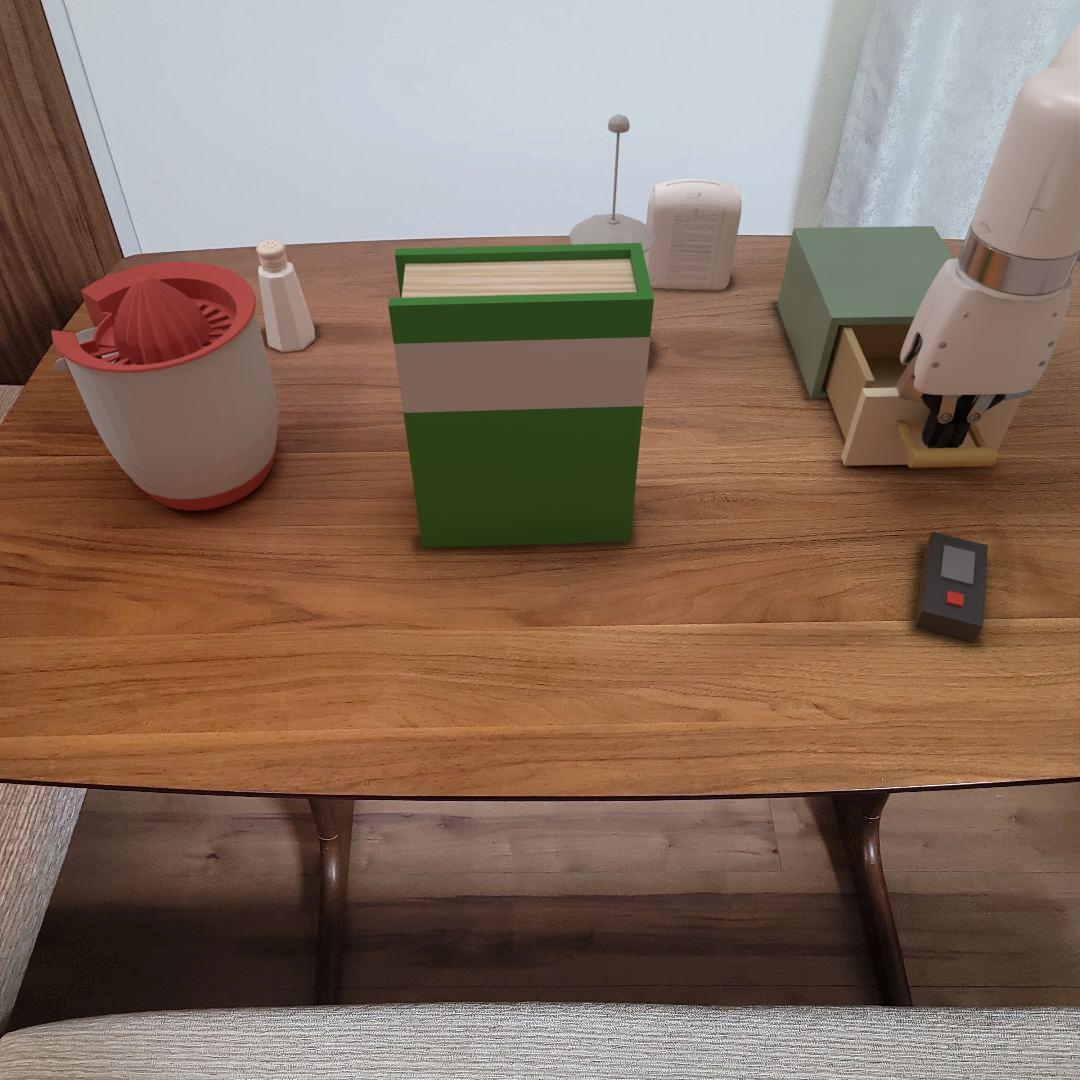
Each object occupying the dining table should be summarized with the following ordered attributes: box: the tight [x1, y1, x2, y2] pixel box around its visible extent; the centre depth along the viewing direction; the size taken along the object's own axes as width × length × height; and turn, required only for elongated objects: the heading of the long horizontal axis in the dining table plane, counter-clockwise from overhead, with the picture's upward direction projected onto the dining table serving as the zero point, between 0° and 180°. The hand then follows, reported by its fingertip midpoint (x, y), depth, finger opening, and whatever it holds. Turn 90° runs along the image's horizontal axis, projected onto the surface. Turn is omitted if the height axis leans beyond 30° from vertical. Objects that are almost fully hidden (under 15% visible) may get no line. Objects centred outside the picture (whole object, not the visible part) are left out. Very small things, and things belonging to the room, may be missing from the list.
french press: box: [568, 113, 655, 253], centre depth 88 cm, size 10×12×25 cm
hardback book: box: [387, 243, 655, 549], centre depth 73 cm, size 18×7×24 cm, turn 92°
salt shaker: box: [255, 239, 316, 353], centre depth 96 cm, size 5×5×11 cm
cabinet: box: [776, 225, 955, 399], centre depth 95 cm, size 17×15×10 cm
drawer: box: [823, 324, 1023, 468], centre depth 85 cm, size 21×14×8 cm, turn 1°
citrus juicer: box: [51, 261, 279, 512], centre depth 79 cm, size 16×17×20 cm
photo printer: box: [644, 177, 742, 291], centre depth 103 cm, size 10×4×12 cm, turn 86°
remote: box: [914, 531, 989, 644], centre depth 74 cm, size 9×4×3 cm, turn 159°
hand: (937, 448), depth 80 cm, fingers closed
